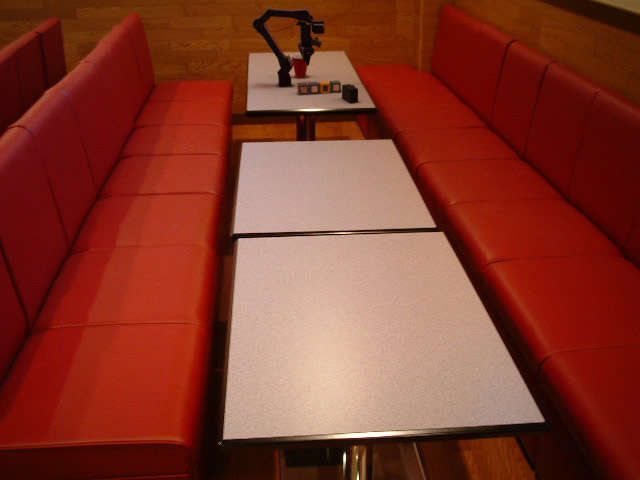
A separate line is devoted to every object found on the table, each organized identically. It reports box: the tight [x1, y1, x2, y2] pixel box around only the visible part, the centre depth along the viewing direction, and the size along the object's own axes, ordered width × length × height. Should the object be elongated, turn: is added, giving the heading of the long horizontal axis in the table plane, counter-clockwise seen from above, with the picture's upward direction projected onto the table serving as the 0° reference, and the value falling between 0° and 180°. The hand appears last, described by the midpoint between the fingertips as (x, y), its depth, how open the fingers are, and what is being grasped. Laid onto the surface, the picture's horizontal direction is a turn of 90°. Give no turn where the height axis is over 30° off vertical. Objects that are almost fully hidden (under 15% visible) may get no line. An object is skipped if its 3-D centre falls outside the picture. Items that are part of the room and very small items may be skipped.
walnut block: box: [296, 82, 309, 96], centre depth 335 cm, size 5×5×5 cm
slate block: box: [307, 81, 320, 95], centre depth 336 cm, size 5×5×5 cm
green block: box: [329, 79, 342, 94], centre depth 338 cm, size 5×5×5 cm
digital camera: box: [341, 83, 359, 104], centre depth 321 cm, size 10×5×7 cm, turn 23°
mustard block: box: [318, 80, 331, 94], centre depth 337 cm, size 5×5×5 cm
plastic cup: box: [290, 54, 308, 79], centre depth 365 cm, size 11×11×12 cm
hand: (306, 63), depth 344 cm, fingers open, 9 cm apart
